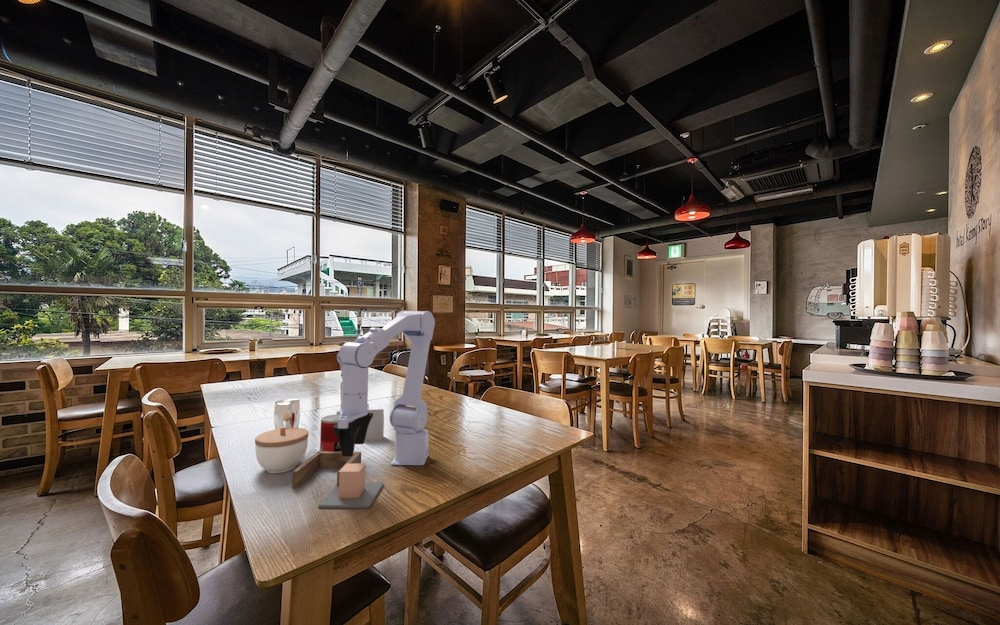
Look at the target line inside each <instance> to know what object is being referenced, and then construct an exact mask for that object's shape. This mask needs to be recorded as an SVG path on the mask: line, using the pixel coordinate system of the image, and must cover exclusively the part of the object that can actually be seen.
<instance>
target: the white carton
mask: <svg viewBox="0 0 1000 625" xmlns="http://www.w3.org/2000/svg"><path fill="white" fill-rule="evenodd" d="M300 404H301V403H300V399H297V398H287V399H280V400H277V401H275V404H274V410H273V411H274V412H273V413H274V414H273V424H274V430H276V429H280V428H281V427H285V428H299V424H300V417H301V406H300Z"/></svg>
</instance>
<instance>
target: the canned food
mask: <svg viewBox="0 0 1000 625" xmlns="http://www.w3.org/2000/svg"><path fill="white" fill-rule="evenodd" d="M338 419H340V415H337V414H329V415H326V416H323V417H321V419H320V438H319V439H320V441H319V445H320V447H319V451H330V452H341V448H340V444H339V441H338V438H337V436H336V435H335V433H334V432H333V426H335V425H336V424H338Z"/></svg>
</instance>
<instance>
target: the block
mask: <svg viewBox="0 0 1000 625" xmlns="http://www.w3.org/2000/svg"><path fill="white" fill-rule="evenodd" d="M340 469H341V468H340ZM340 469H339V470H340ZM339 470H338V471H339ZM365 482H366V463H361V464H346V465H345V466H344V467H343V468H342V469H341V470H340V471H339V498H359V497H360V495H361V494H362V492H363V491H364V489H365Z"/></svg>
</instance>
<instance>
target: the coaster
mask: <svg viewBox="0 0 1000 625" xmlns="http://www.w3.org/2000/svg"><path fill="white" fill-rule="evenodd" d="M384 484H385V483H384V482H381V481H380V482H378V481H375V482H374V481H371V482H370V481H369V482H367V481H365V489H364V491H363V492H362V494H361V495H360V497H359V498H339V486H337V484H336V485H335V486H334V487H333V488H332V489H331V490H330V492H329V493H327V494H326V496H325V497H324V498H323V499H322V500H321V502H320V503H318V507H317V508H318V509H369V508H370V507H371V505H372V504H373V502H374V501H375V499H376V498H377V496H378V494H379V493H380V491H381V489H382V488H383V487H384Z"/></svg>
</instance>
